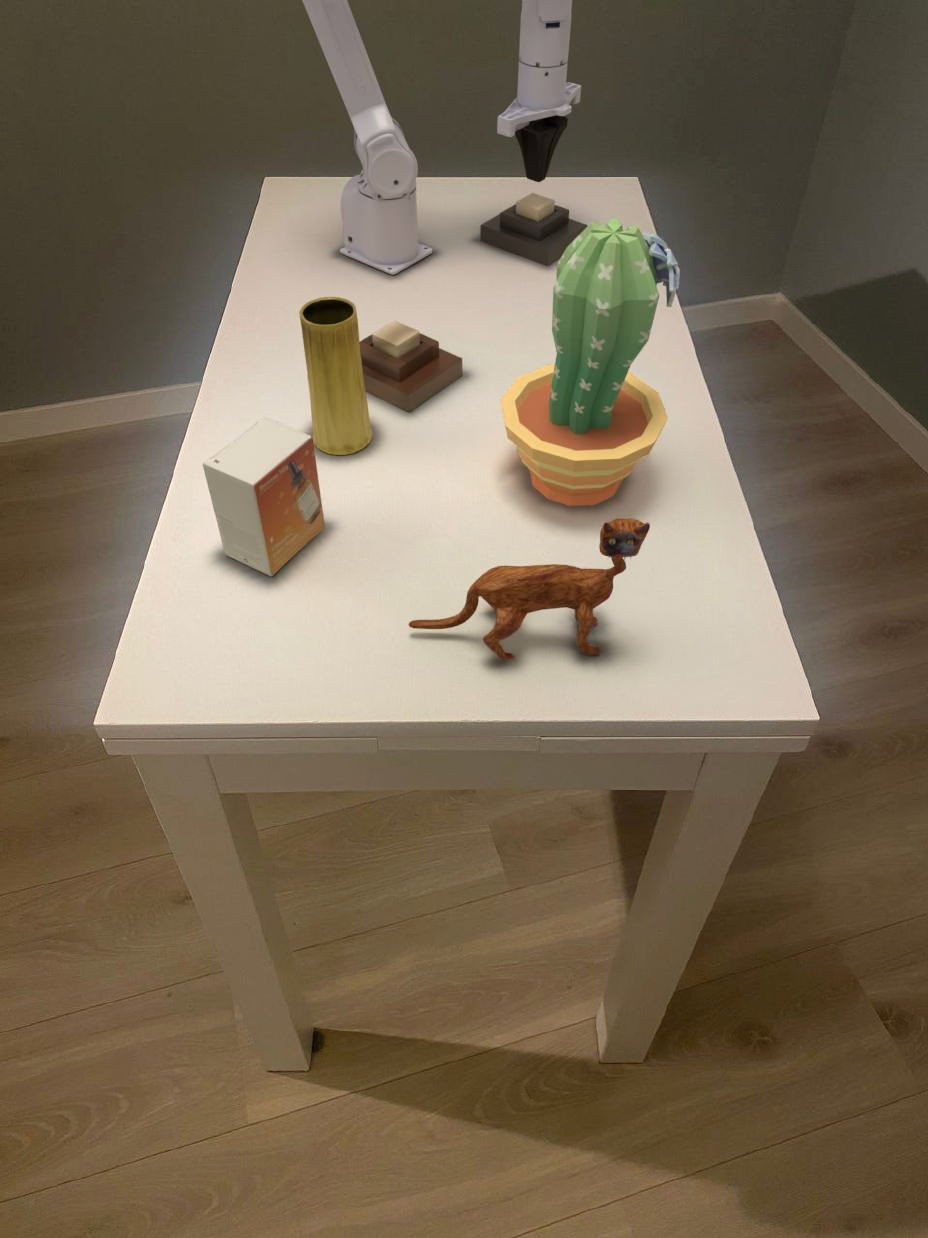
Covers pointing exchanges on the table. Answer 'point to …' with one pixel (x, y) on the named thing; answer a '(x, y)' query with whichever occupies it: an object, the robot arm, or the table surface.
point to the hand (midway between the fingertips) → (535, 178)
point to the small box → (266, 495)
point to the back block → (532, 234)
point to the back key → (535, 207)
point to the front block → (408, 372)
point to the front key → (396, 339)
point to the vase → (335, 376)
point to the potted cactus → (594, 368)
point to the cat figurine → (549, 589)
